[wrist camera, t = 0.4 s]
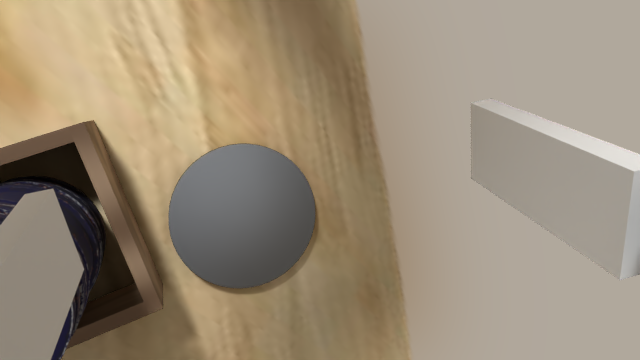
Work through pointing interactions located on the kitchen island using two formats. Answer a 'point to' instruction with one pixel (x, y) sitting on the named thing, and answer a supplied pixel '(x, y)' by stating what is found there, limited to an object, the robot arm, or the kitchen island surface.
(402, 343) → the kitchen island surface
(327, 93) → the kitchen island surface
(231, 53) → the kitchen island surface
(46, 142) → the walnut open box
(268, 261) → the rubber pad
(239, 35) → the kitchen island surface
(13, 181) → the dark blue cylinder
